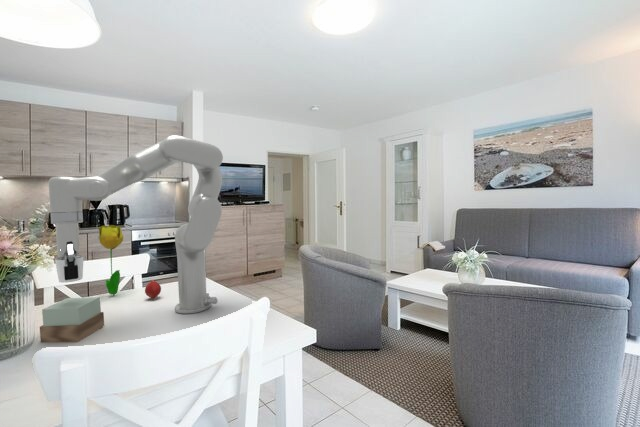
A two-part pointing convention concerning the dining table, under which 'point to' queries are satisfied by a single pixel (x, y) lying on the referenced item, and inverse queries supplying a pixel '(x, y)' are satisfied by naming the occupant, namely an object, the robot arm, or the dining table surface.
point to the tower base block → (72, 330)
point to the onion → (153, 289)
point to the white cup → (61, 264)
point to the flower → (110, 240)
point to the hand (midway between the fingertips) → (70, 276)
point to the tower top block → (71, 311)
